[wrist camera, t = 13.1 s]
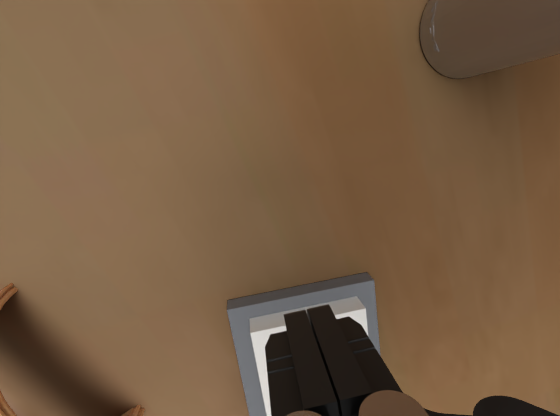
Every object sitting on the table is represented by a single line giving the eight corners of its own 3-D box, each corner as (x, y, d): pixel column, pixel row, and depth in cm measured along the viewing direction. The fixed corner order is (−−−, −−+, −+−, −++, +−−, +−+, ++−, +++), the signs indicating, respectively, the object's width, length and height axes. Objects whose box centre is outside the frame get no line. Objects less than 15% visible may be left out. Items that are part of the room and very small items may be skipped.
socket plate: (366, 272, 36) (384, 291, 31) (376, 387, 39) (394, 418, 35) (227, 300, 34) (225, 324, 30) (252, 416, 38) (253, 452, 34)
